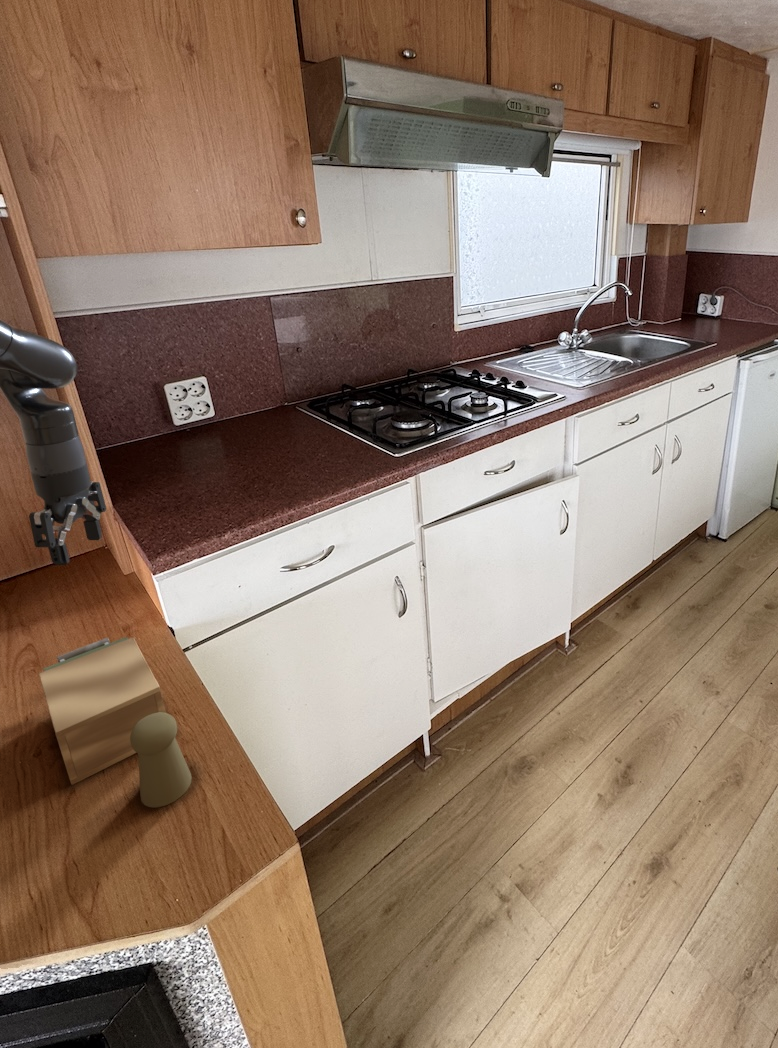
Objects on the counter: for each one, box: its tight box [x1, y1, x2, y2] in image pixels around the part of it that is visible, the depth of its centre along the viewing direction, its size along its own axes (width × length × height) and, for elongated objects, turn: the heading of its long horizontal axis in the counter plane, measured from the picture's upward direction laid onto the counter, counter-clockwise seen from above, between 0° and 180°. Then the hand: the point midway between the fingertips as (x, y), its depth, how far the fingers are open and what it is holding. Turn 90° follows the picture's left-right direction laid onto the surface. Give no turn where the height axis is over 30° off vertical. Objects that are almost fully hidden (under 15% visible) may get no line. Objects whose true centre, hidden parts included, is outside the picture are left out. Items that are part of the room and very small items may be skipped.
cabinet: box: [38, 637, 166, 786], centre depth 85 cm, size 15×12×9 cm
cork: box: [130, 712, 193, 808], centre depth 75 cm, size 6×6×11 cm
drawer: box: [42, 636, 129, 672], centre depth 88 cm, size 19×11×7 cm, turn 44°
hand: (79, 551), depth 101 cm, fingers open, 8 cm apart
